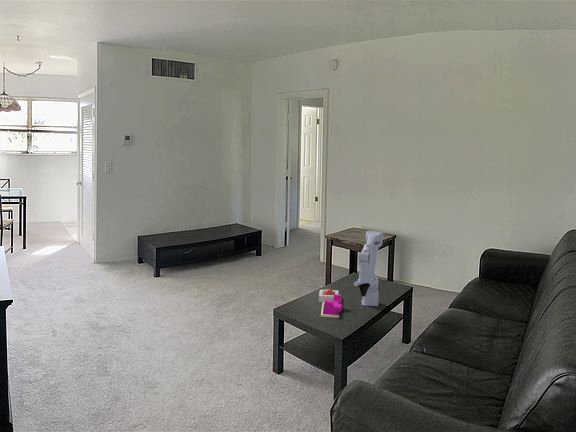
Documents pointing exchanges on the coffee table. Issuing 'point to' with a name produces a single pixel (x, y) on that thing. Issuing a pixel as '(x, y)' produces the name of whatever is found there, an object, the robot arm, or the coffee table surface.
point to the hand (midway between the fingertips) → (363, 295)
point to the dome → (328, 292)
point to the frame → (326, 314)
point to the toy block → (333, 305)
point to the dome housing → (326, 296)
